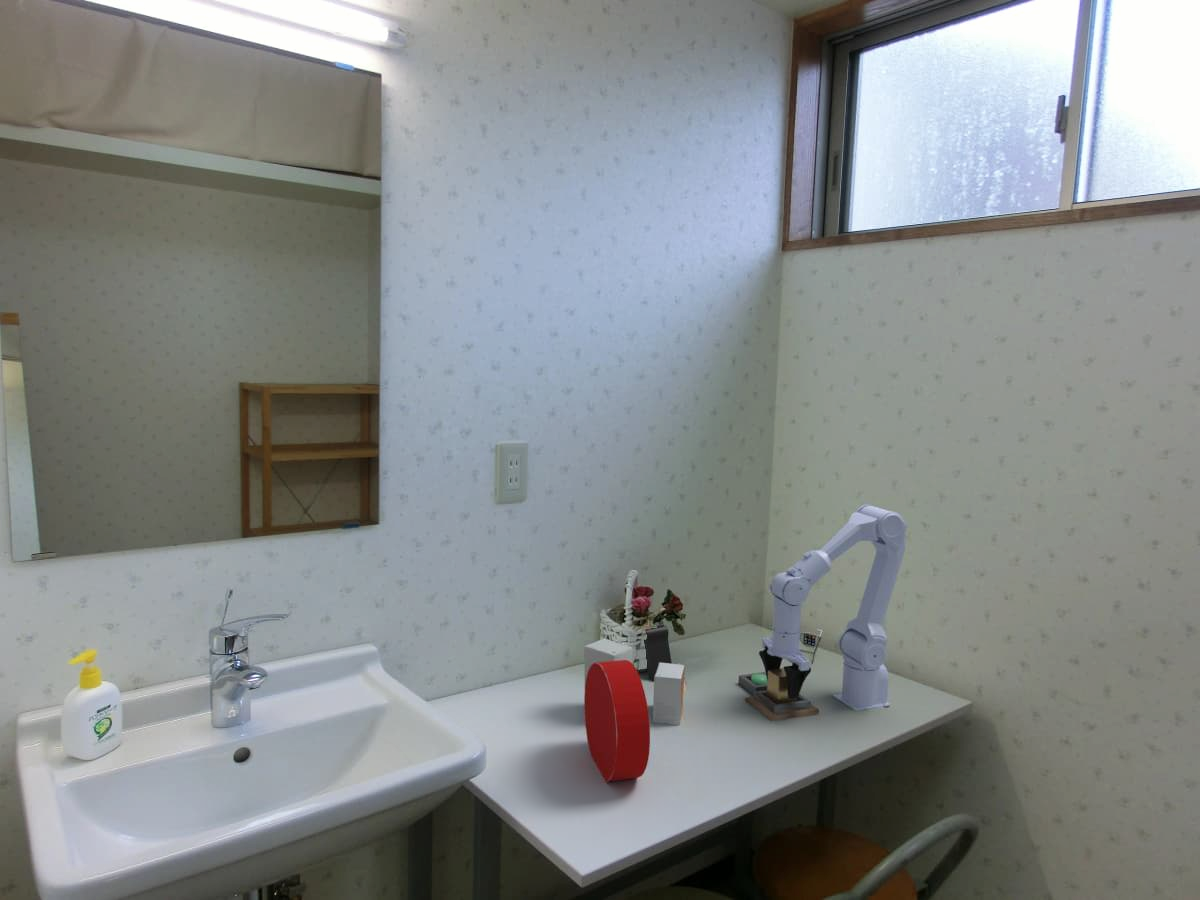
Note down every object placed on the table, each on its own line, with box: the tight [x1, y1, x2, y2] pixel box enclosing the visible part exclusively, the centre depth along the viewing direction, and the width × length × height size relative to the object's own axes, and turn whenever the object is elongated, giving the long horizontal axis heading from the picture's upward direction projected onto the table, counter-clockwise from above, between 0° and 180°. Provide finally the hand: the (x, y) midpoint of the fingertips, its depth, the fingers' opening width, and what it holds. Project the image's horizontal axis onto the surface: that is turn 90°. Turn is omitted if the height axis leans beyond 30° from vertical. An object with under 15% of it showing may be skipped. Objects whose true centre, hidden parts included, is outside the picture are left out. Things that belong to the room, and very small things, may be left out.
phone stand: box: [644, 624, 673, 683], centre depth 181 cm, size 9×6×12 cm, turn 30°
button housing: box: [737, 671, 767, 696], centre depth 176 cm, size 7×7×2 cm
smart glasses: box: [799, 628, 823, 665], centre depth 200 cm, size 12×14×5 cm
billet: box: [767, 667, 797, 705], centre depth 166 cm, size 5×4×7 cm
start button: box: [751, 673, 767, 685], centre depth 176 cm, size 4×4×2 cm
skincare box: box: [583, 638, 634, 684], centre depth 158 cm, size 8×7×16 cm
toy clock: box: [583, 660, 651, 783], centre depth 137 cm, size 20×6×20 cm, turn 17°
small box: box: [652, 663, 686, 726], centre depth 159 cm, size 8×6×10 cm
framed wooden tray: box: [744, 690, 820, 722], centre depth 167 cm, size 12×10×2 cm
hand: (782, 690), depth 166 cm, fingers open, 7 cm apart
